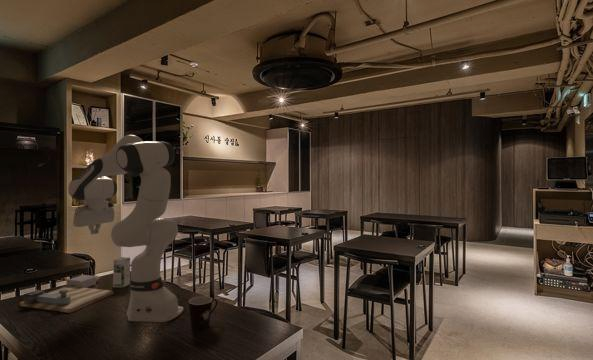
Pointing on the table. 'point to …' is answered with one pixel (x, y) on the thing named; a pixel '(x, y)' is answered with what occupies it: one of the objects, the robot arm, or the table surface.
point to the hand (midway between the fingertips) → (94, 233)
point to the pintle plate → (75, 299)
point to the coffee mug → (200, 312)
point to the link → (53, 299)
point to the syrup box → (121, 272)
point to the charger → (82, 281)
